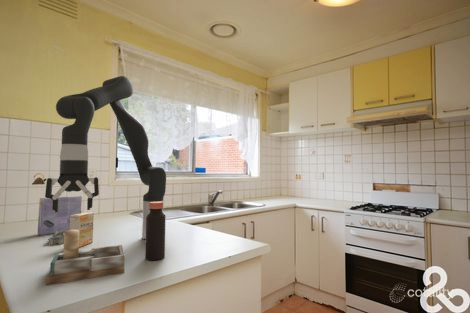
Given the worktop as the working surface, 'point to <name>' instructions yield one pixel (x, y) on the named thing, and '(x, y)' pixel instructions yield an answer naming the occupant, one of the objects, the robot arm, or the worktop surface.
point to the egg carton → (57, 238)
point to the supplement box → (83, 227)
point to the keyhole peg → (71, 244)
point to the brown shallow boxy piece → (87, 265)
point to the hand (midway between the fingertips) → (72, 210)
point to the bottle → (155, 232)
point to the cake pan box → (57, 214)
